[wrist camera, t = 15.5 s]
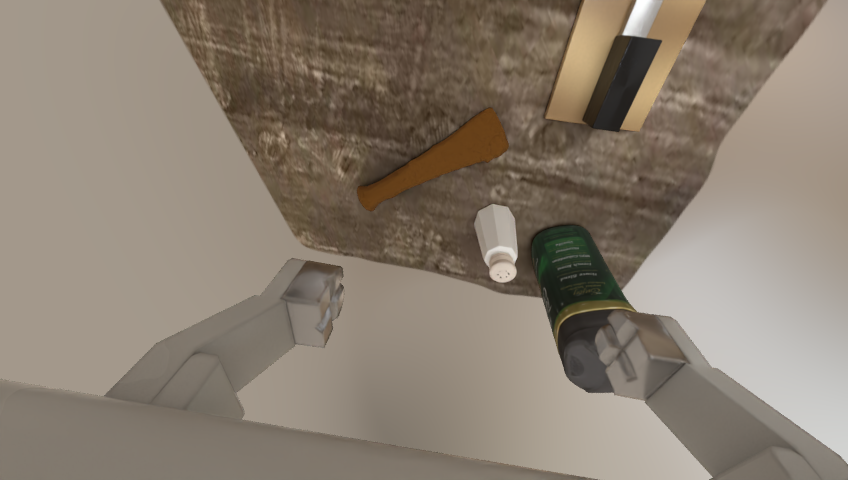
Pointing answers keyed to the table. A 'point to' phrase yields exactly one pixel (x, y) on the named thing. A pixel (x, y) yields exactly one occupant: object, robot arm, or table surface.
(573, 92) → the cutting board
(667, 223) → the table surface
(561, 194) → the table surface
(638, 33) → the knife
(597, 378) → the coffee jar
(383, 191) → the primitive tool
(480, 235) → the pepper shaker
